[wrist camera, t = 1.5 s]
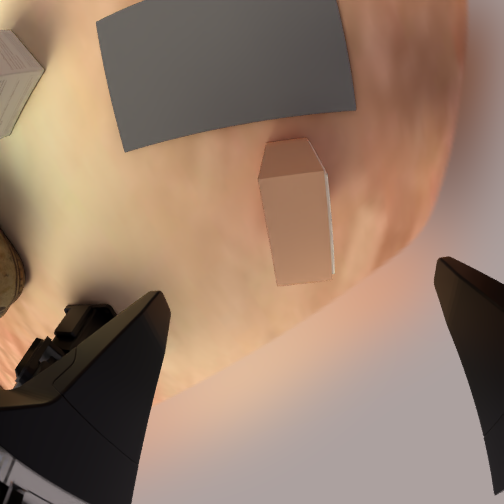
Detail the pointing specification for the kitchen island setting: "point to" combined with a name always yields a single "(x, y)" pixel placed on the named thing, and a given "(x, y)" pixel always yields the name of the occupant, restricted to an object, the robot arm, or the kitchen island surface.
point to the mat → (221, 65)
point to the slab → (297, 212)
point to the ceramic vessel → (9, 274)
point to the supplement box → (15, 79)
